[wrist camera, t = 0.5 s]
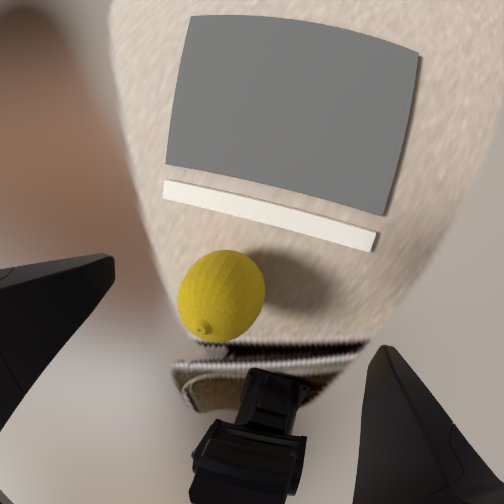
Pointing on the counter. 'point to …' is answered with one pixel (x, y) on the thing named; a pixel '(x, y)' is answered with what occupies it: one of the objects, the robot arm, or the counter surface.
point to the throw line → (270, 214)
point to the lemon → (221, 296)
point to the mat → (293, 106)
